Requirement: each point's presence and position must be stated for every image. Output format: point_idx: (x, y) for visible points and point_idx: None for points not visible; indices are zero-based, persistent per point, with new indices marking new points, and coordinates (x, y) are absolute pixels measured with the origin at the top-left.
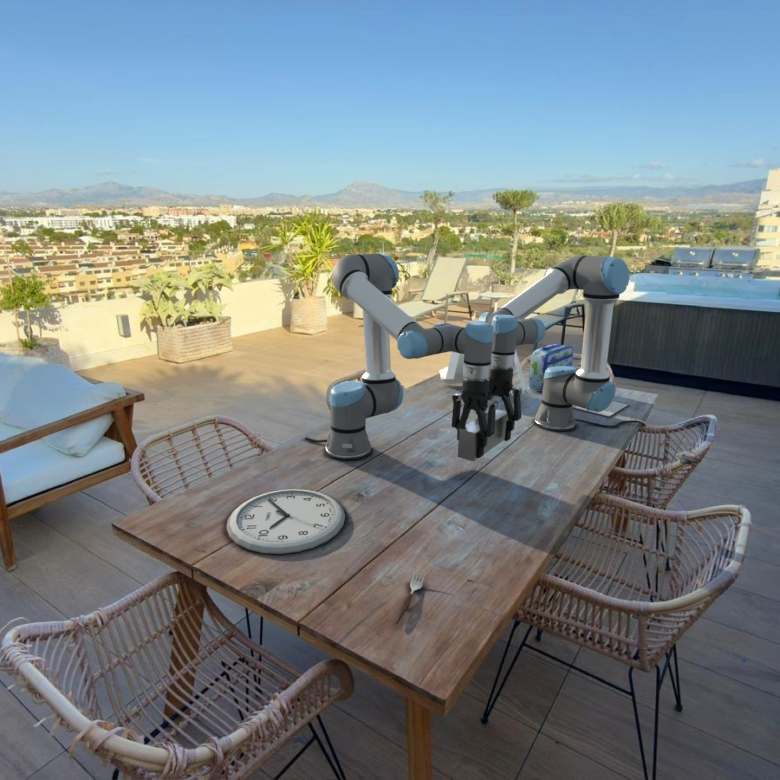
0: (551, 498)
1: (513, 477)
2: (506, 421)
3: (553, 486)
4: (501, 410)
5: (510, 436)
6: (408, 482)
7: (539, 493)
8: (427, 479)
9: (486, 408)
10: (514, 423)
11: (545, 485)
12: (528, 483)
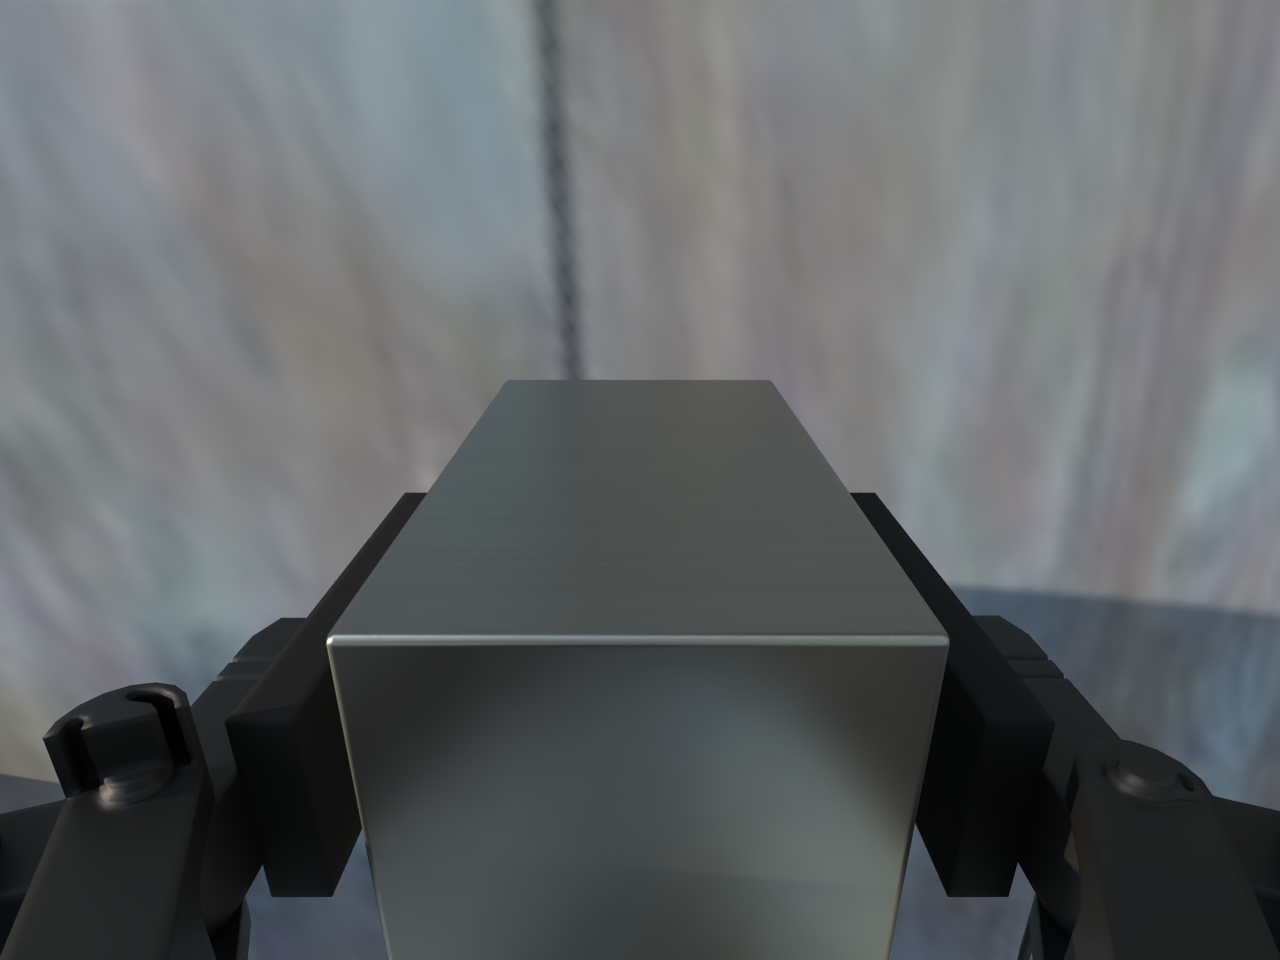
0: (1233, 632)
1: (884, 501)
2: (951, 890)
3: (1238, 447)
4: (638, 656)
5: (886, 515)
6: (328, 946)
7: (1138, 617)
8: None
9: (196, 919)
10: (1096, 722)
11: (1169, 472)
12: (1027, 523)
